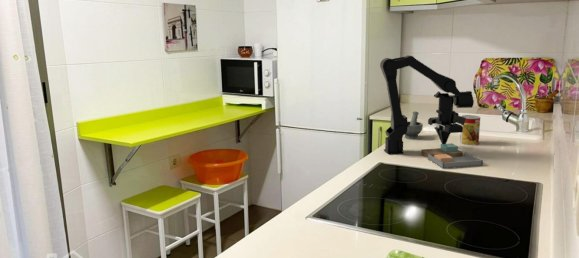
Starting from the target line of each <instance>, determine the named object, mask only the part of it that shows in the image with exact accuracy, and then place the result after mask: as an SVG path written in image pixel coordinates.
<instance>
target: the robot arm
mask: <svg viewBox="0 0 579 258" xmlns="http://www.w3.org/2000/svg"><path fill="white" fill-rule="evenodd" d="M379 66H380V69H381V73H382V75H383V77H384V79H385V83H386V88H387V89H386V90H387V94H388V95H387V96H388V99H389V100H388V101H389V106H390V113H391V114H390V115H391V116H390V126H389V127H388V128H386V129H385V131H384V133H385V135H386V136H385V142H384V143H385V145H384V147H385V148H384V149H383V152H385V153H387V154H388V155H397V154H401V155H402V154H404V141H403V137H404V136H405V134H406V132H407V130H408V128H407V127H409V126H408V123H407V122H408V117H407V116H406V115H405V114H403V113H402V108H401V102H400V95H399V90H398V84H397V76H398V70H400V69H403V68H407V67H410V68H411V69H413V70H414V71H416V72H418V73H419V74H421V75H422V76H424V77H425V78H427V79H429V81H431V83H433V85H435V86H436V88H438V89H439V90H441V91H443V92H441V91H437V92H436V93H435V94H434V95H433V97H434V98H436V99H438V106H437V107H438V109H436V112H435V113H437V116H435V117H429V118H428V120H427V125H430V126H433V125H434V124H435V126H434V129H435V131H436V134H437V136H438V138H439V140H440V144H447V143H448V139H449V138H450V135H451V134H458V133H459V134H460V132H463V127H462V126H461V125H464V123H465V121H466V118H464V117H461V116H462V115H459V112H456V111H455V110H454V106H455V107H456V109H469V108H473V107H474V103H475V101H474V97H473V96H474V95H473V92H472V91H471V90H466V91H460V90H459V89H458V87H457V82H456V81H455V80H454V79H453V78H451V77H448V76H446V75H443V74H441V73H438V72H436V70H433V69H432V68H431V67H429V66H428V65H426V64H424V63H423V62H421V61H420V60H418V59H416V58H415V57H414V56H413V55H406V56H400V57H395V58H390V57H384V58H383V59H382V60H381V61H380V63H379ZM449 93H450V94H449Z"/></svg>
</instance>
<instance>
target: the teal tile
mask: <svg viewBox="0 0 579 258" xmlns="http://www.w3.org/2000/svg"><path fill="white" fill-rule="evenodd" d="M440 148H441V149H442V150H444V151H445V152H454V151H458V150H459V145H456V144H454V143H446V144H442V143H440Z"/></svg>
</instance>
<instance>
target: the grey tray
mask: <svg viewBox="0 0 579 258" xmlns="http://www.w3.org/2000/svg"><path fill="white" fill-rule="evenodd" d="M427 160H428V161H430V162H431V161H432V162H431V163H433V164H434V163H435V165H436V164H437V165H436V166H437V167H439V166H440V167H439V168H441V167H442V169H452V168H453V167H456V168H466V167H467V166H468V167H478V166H479V167H480V166H483V159H481V158H479V157H477V156H476V155H473V154H470V153H469V152H467V151H464V152H463V156H458V157H453V162H447V163H443V162H441V161H440V160H438V159H436V158H435V157H433V156H431V155H428V158H427ZM453 169H454V168H453Z"/></svg>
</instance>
